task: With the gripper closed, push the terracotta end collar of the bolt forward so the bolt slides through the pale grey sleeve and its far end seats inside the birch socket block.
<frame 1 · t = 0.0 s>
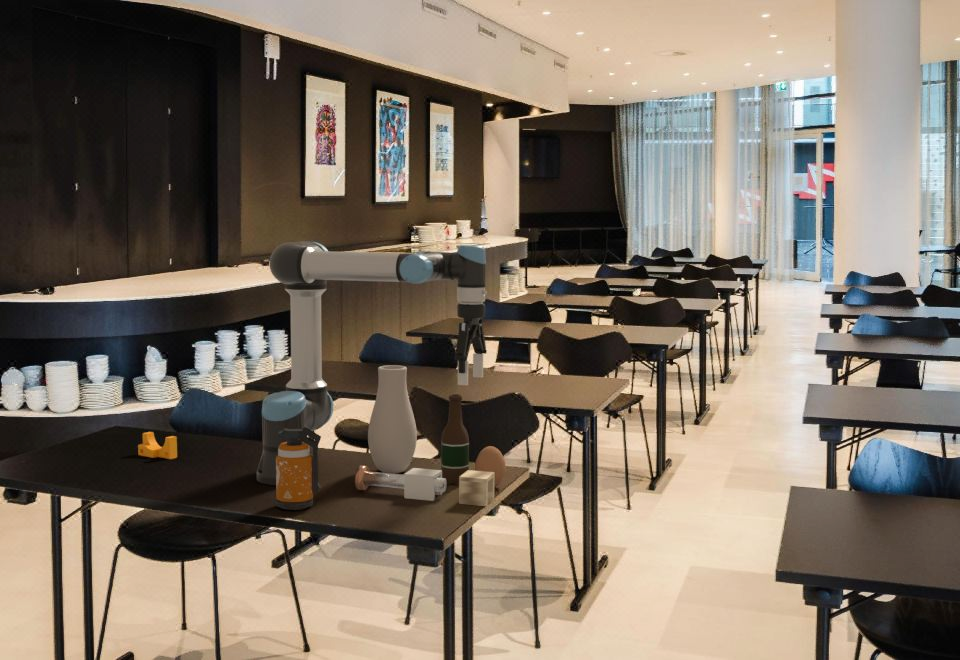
hand: (470, 381, 281), 28 cm above the table, fingers open, 13 cm apart
bolt: (401, 481, 271), point 3 cm above the table, slide at 0.0 cm
sleeve: (423, 496, 270), on the table
canister: (299, 507, 259), on the table
socket: (474, 501, 266), on the table
egg: (490, 488, 279), on the table
beer bottle: (454, 481, 285), on the table
pipe clamp: (157, 457, 310), on the table
vase: (392, 472, 295), on the table
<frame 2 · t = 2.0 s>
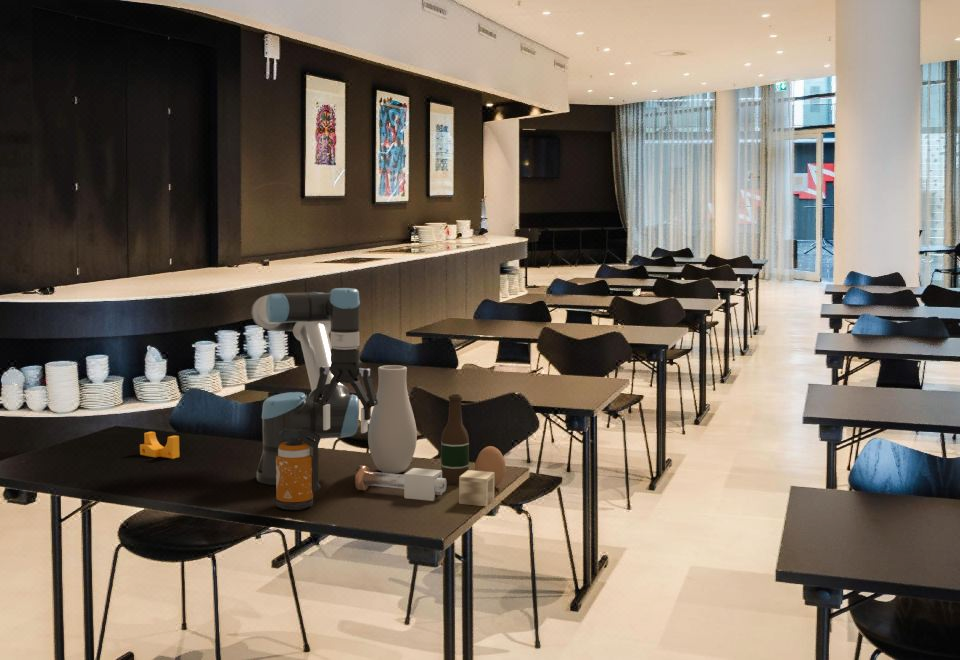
hand: (345, 430, 275), 16 cm above the table, fingers open, 10 cm apart
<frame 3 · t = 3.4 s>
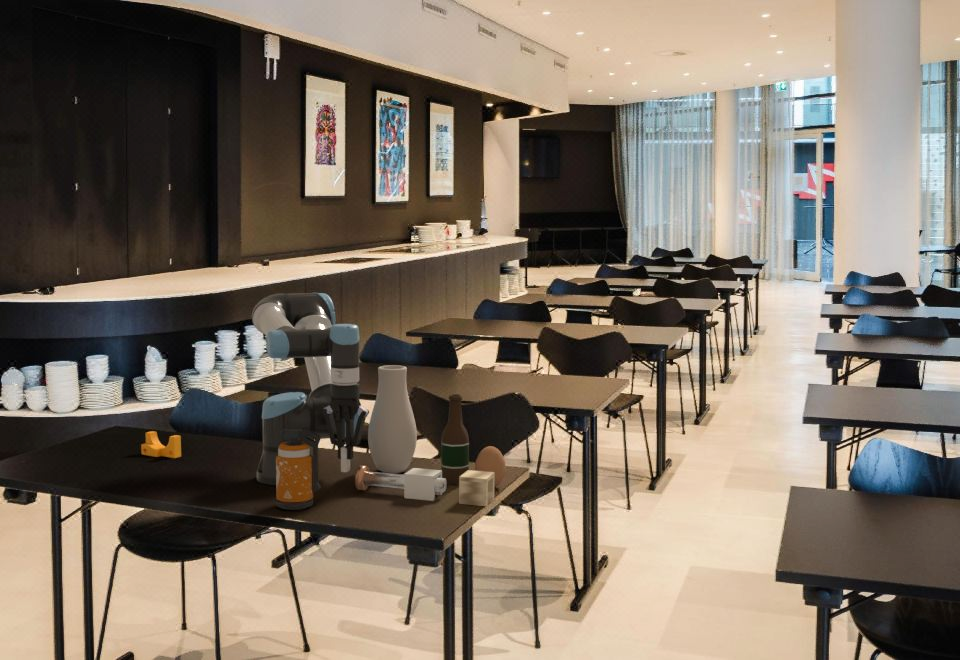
hand: (345, 470, 275), 5 cm above the table, fingers closed
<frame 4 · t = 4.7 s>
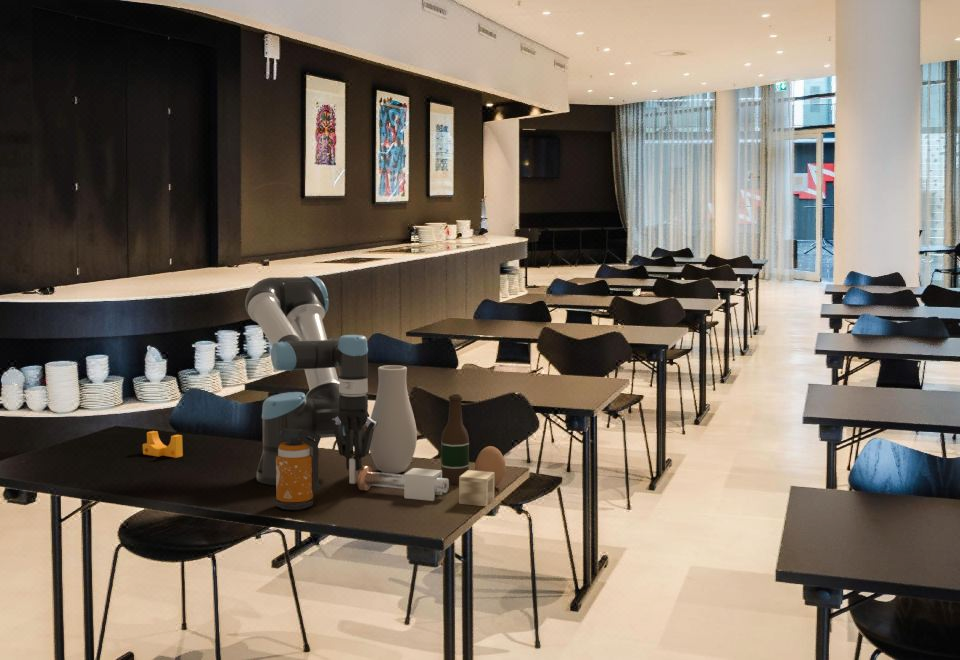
hand: (354, 482, 275), 2 cm above the table, fingers closed
bolt: (403, 481, 271), point 3 cm above the table, slide at 0.6 cm, touching gripper
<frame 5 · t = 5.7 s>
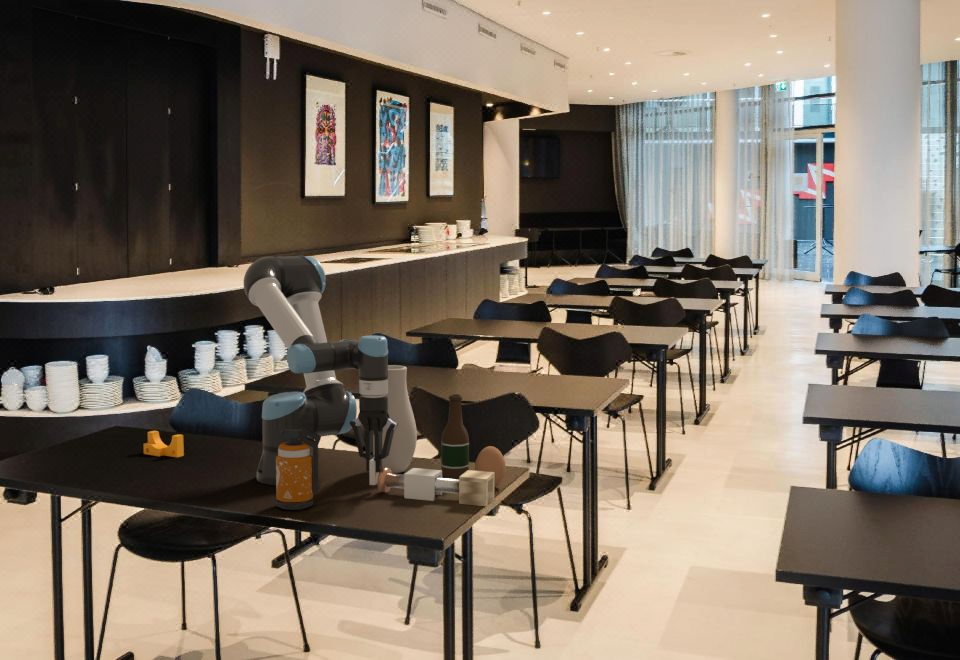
hand: (374, 483, 273), 2 cm above the table, fingers closed
bolt: (424, 483, 269), point 3 cm above the table, slide at 6.3 cm, touching gripper
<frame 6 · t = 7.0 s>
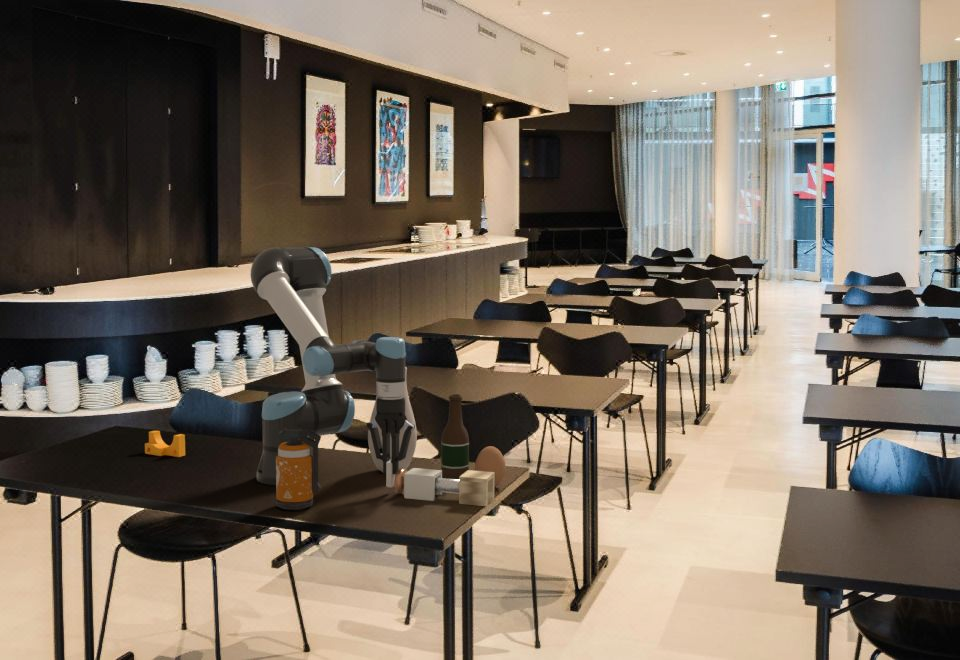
hand: (390, 485, 272), 2 cm above the table, fingers closed
bolt: (441, 485, 268), point 3 cm above the table, slide at 11.0 cm, touching gripper
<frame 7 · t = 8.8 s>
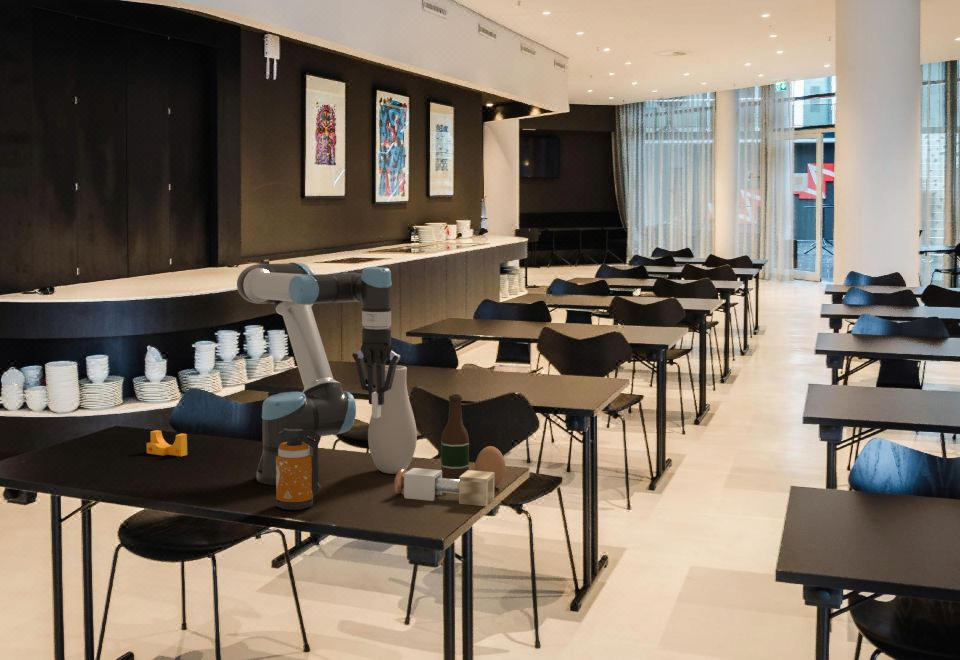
hand: (376, 416, 272), 20 cm above the table, fingers closed
bolt: (441, 485, 268), point 3 cm above the table, slide at 11.0 cm
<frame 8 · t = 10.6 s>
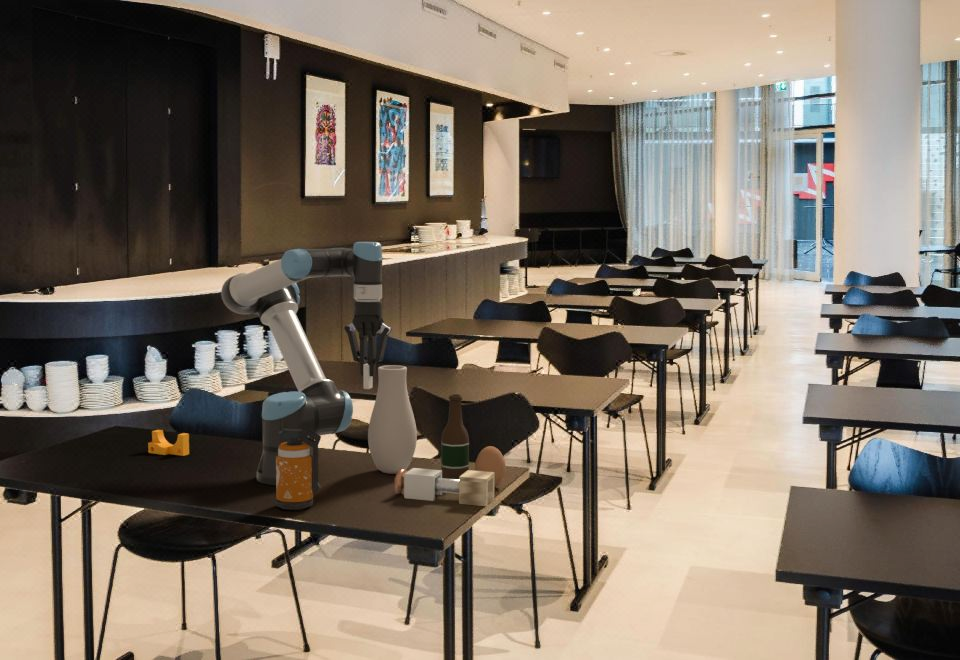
hand: (368, 388, 278), 26 cm above the table, fingers closed
at the end: bolt slide at 11.0 cm; bolt 1.0 cm from the target spot on the table beside the socket, resting on socket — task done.
